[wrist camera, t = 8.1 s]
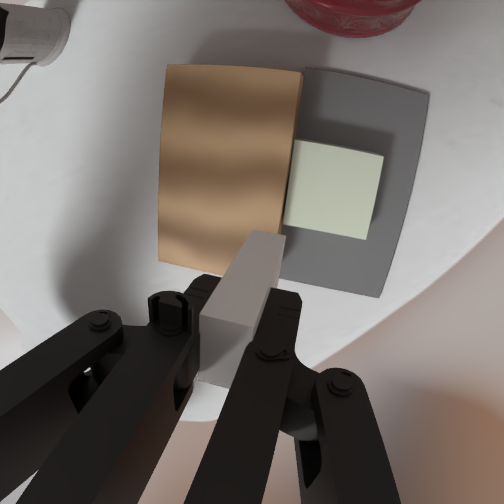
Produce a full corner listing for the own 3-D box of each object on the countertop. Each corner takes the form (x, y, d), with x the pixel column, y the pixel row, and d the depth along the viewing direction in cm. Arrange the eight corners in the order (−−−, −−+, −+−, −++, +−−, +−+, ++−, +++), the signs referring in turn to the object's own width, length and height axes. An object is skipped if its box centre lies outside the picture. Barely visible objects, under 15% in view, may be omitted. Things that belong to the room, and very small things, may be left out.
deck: (275, 267, 35) (269, 285, 32) (174, 246, 37) (158, 260, 34) (304, 77, 27) (300, 72, 23) (184, 68, 28) (166, 64, 25)
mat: (378, 296, 34) (378, 298, 34) (274, 275, 36) (273, 277, 35) (427, 95, 24) (429, 95, 24) (305, 67, 26) (305, 67, 26)
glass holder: (75, 2, 26) (-14, -14, 13) (61, 102, 32) (-34, 117, 19) (35, 15, 27) (-47, 11, 14) (23, 105, 34) (-60, 122, 20)
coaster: (363, 231, 31) (365, 240, 29) (285, 217, 32) (282, 224, 30) (379, 153, 28) (383, 156, 26) (296, 137, 29) (294, 139, 27)
